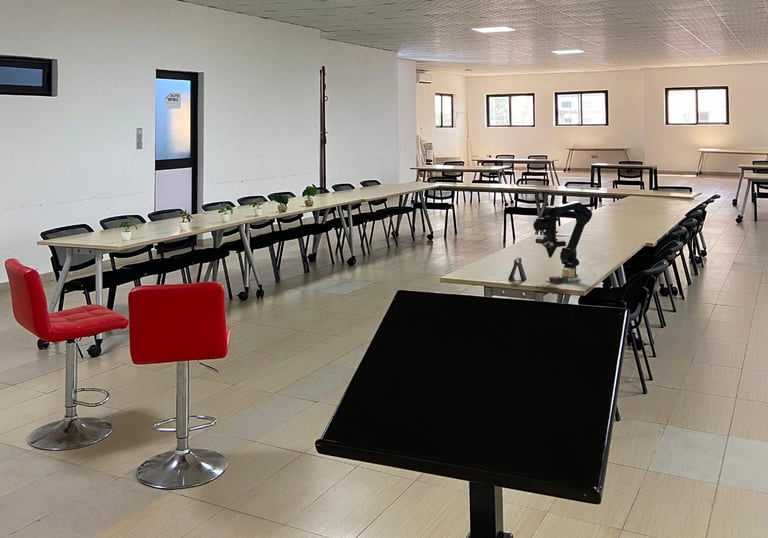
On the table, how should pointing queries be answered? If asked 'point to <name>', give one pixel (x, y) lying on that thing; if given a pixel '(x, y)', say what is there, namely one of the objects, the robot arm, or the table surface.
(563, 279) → the ball holder tray
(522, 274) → the phone stand
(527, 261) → the table surface
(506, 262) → the table surface
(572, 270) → the billet
